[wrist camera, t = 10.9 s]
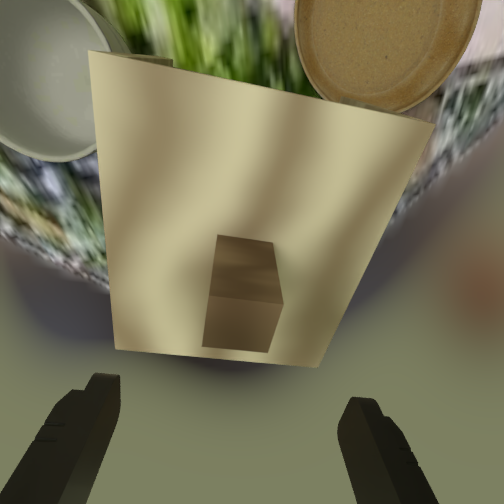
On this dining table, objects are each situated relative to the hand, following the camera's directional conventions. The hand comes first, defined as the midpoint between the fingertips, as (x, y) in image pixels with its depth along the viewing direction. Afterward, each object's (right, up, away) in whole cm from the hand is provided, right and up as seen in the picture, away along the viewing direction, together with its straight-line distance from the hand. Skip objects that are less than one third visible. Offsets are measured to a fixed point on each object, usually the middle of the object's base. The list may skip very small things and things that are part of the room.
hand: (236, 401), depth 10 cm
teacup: (-13, +21, +15) cm, 29 cm away
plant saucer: (+11, +25, +15) cm, 31 cm away
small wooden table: (-1, +11, +19) cm, 22 cm away
